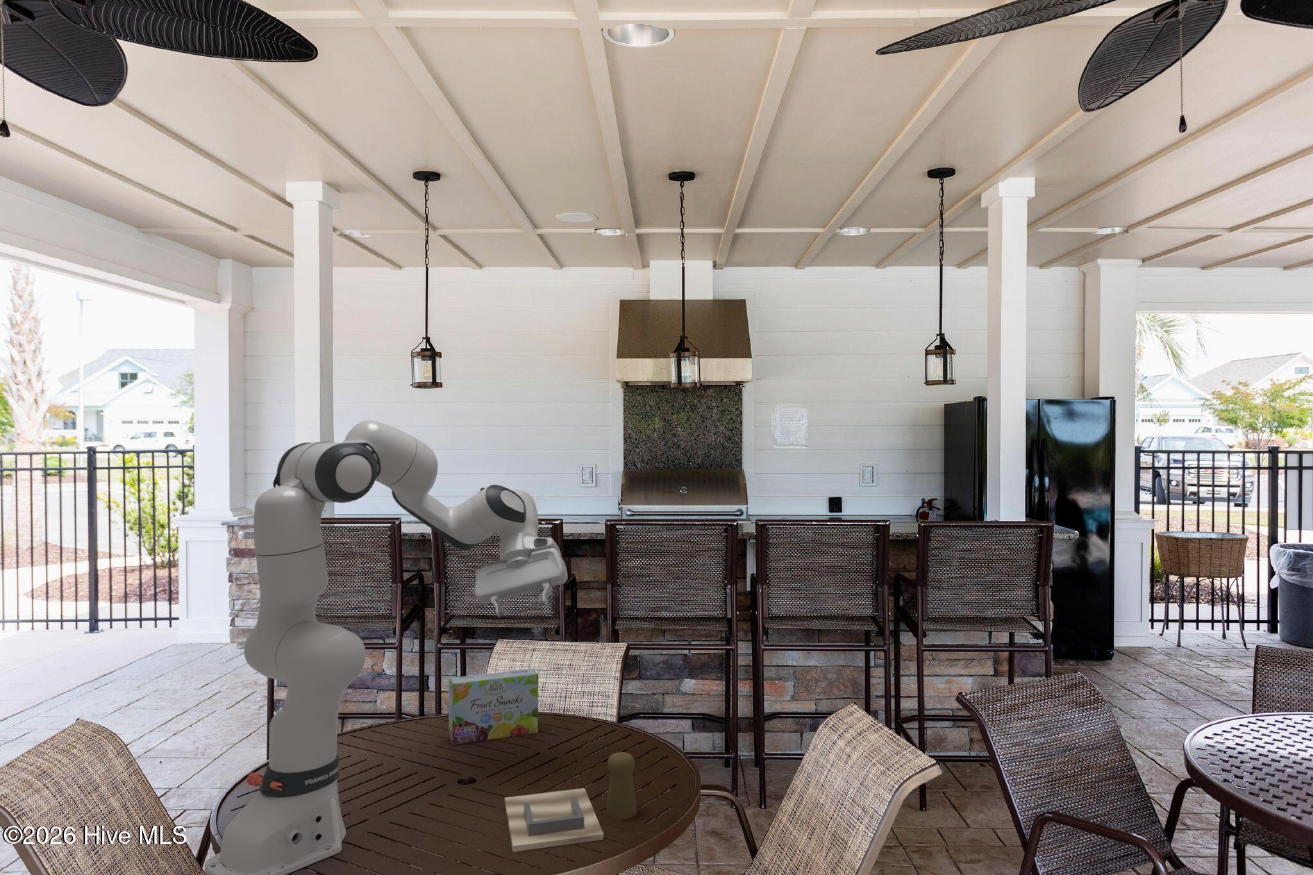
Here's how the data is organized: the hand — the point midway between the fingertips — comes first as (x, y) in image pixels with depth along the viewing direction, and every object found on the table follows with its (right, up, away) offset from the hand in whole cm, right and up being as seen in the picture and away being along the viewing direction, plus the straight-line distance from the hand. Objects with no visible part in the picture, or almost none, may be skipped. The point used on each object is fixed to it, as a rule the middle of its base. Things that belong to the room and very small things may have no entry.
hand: (521, 609), depth 162 cm
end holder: (+9, -35, -20) cm, 41 cm away
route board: (+9, -36, -17) cm, 41 cm away
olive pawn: (+22, -36, -14) cm, 44 cm away
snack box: (-12, -38, +28) cm, 48 cm away
